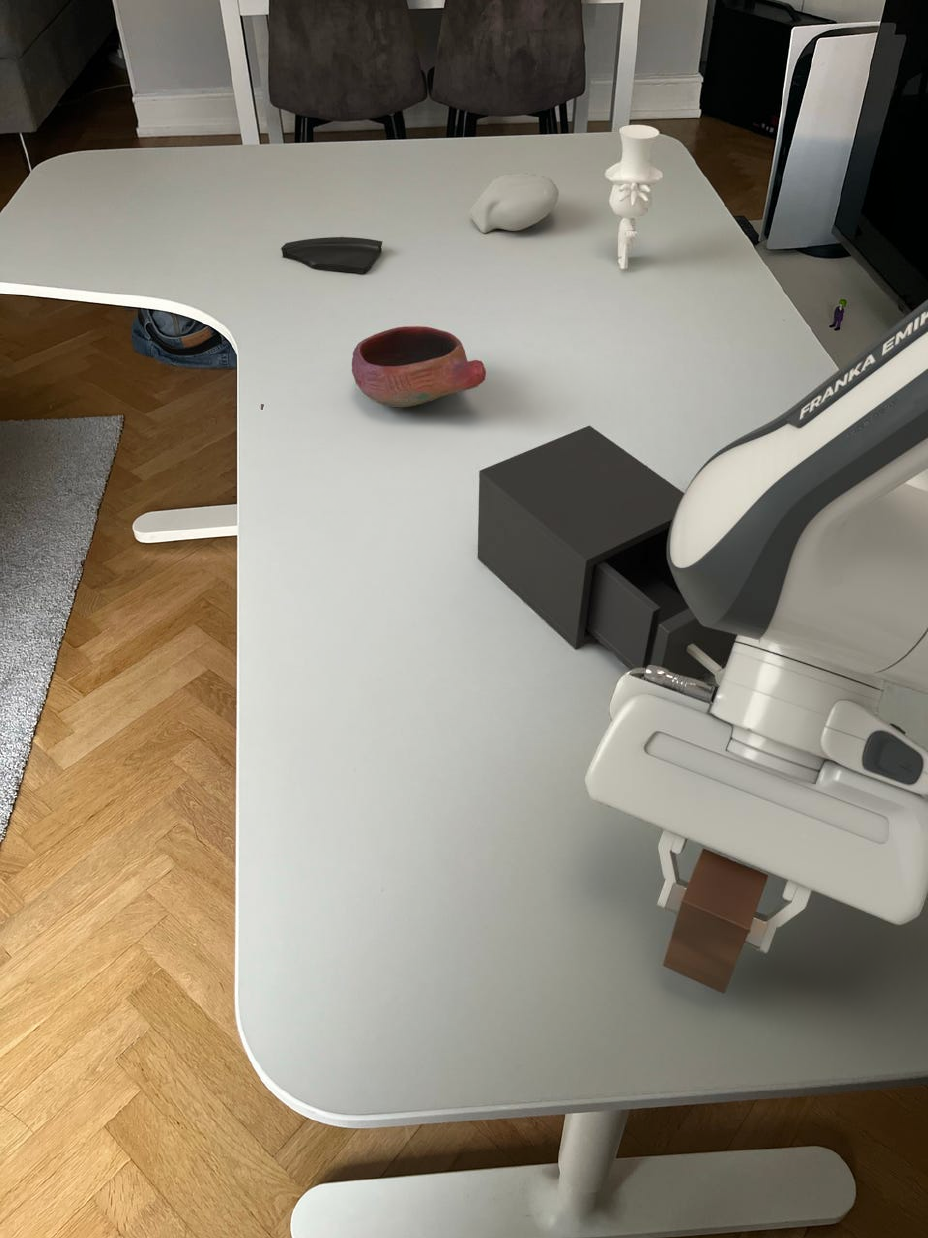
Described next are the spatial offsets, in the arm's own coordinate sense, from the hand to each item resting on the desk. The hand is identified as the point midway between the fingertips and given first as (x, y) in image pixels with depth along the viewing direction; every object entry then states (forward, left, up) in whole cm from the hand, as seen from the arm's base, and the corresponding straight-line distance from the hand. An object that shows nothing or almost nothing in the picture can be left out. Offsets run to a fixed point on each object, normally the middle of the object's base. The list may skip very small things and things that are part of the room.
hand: (712, 927), depth 60 cm
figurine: (+42, -98, -8) cm, 107 cm away
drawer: (+11, -28, -6) cm, 31 cm away
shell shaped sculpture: (+62, -104, -8) cm, 121 cm away
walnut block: (0, -1, -4) cm, 4 cm away
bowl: (+50, -54, -8) cm, 74 cm away
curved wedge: (+79, -81, -8) cm, 113 cm away
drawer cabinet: (+22, -34, -7) cm, 41 cm away
